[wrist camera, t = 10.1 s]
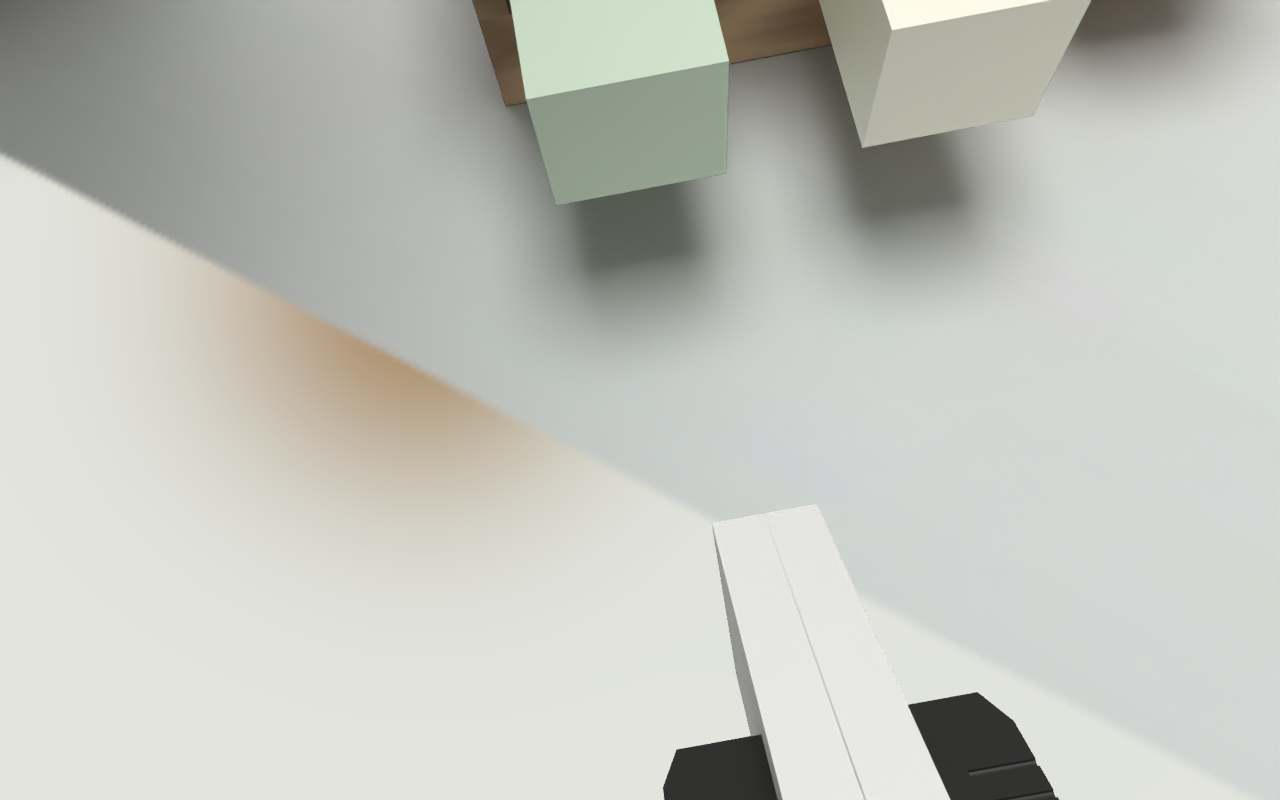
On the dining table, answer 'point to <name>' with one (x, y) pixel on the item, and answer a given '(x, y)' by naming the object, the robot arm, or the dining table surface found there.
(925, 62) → the key cream
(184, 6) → the dining table surface
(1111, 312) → the dining table surface
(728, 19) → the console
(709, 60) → the key sage
